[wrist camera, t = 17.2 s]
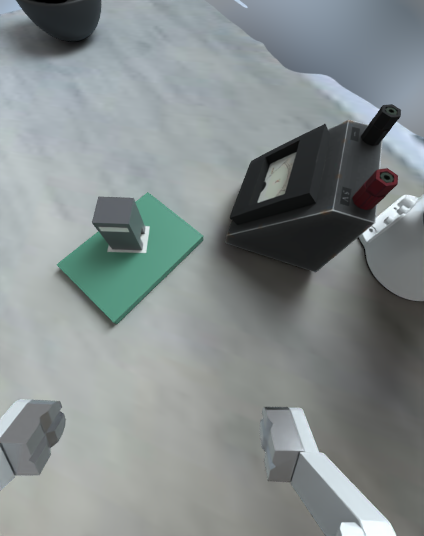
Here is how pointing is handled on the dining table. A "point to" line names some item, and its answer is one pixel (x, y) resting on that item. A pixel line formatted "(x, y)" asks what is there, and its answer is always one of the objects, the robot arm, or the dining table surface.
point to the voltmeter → (314, 193)
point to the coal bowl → (64, 17)
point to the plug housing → (119, 223)
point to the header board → (131, 260)
